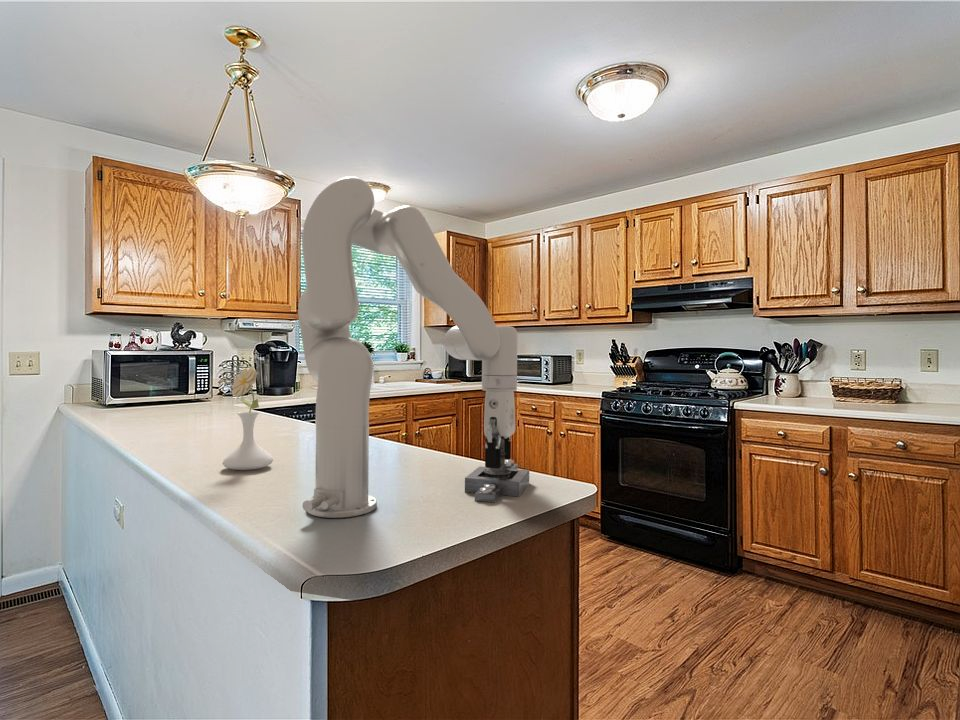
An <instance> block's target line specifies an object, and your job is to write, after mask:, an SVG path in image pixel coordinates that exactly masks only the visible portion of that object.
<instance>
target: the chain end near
mask: <svg viewBox="0 0 960 720" xmlns="http://www.w3.org/2000/svg"><path fill="white" fill-rule="evenodd" d="M485 477H486V476H485ZM509 479H512V477H509ZM529 484H530V477H529V478H528V479H527V480H526V482H525V483H524V484H523V485H522V487H521V488H520V489H508V488H495V486H496V485H494V484H485V485H484V487H483V486H471V485H465V484H464V493H468V492H473V493H472V494H474V501H475V502H482V501H487V502H486V503H493V502H495V501H496V502H497V501H498V500H499V498H501V497H502V496H503V495H508V496H507V497H515V496H519V497H520V496H521V495H522V494H523V493H524V491H525V490H526V489H527V487H528V486H529ZM527 485H528V486H527ZM526 486H527V487H526ZM524 489H525V490H524ZM521 493H522V494H521ZM496 502H495V503H496Z"/></svg>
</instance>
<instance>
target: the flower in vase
mask: <svg viewBox="0 0 960 720" xmlns="http://www.w3.org/2000/svg"><path fill="white" fill-rule="evenodd" d="M257 375H258V372H257V370H256V369H255V367H252V366H250V367H249V368H247V367H244V369H243V370H241V372H240V373H238V374H236V378H235V379H234V381H233V384H232V385H231V388H232V390H231V395H233V396H234V397H235V398H237V397H238V398H239V397H241V398H240V399H241V400H240V401H241V403H243V404H244V405H246V406H247V407H249V410H244V411H238V412H237V415H238V416H239V418H240V420H241V422H242V430H243V431H242V433H243V434H242V435H243V436H242V441H241V444H240V445H238V447H236V448H235V449H234V450H232V452H230V453H229V454H228V455H227V456H226V457H225V458H224V459H223V462H222V465H223V467H224V468H225V469H226V468H227V469H229V470H233V471H234V470H235V471H250V470H251V471H252V470H257V469H263V468H265V467H267V466H270V465H272V463H273V461H274V459H273V458H274V457H273V456H272V455H271V454H270V453H269V452H268V451H266V450H265V449H264V448H262V447H260V445H258V444H257V443H256V441H255V440H254V439H255V438H254V428H255V422H256V419H257V417H258V415H259V414H260V411H257V410H253V409H257V408H259V407H260V405H259V399H258V398H255V395H254V392H253V389H252V387H253V384H256V380H257ZM249 391H250V393H251V396H252V402H250V401H248V400H246V399H245V398H244V397H243V396H245V394H246V393H248V392H249Z"/></svg>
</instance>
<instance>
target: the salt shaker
mask: <svg viewBox="0 0 960 720" xmlns="http://www.w3.org/2000/svg"><path fill="white" fill-rule="evenodd" d="M496 442H497V439H496ZM499 449H501V467H500V468H499V469H498V468H488V469H486V470H484V473H485V476H486V477H491V478H505V479H509V477H510V473H511V471H510V470H508V469H506V467H505V460H506V459H505V455H506V453H505V452H504V439H503V438H502V437H501V441H500V447H499Z"/></svg>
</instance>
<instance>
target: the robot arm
mask: <svg viewBox="0 0 960 720" xmlns="http://www.w3.org/2000/svg"><path fill="white" fill-rule="evenodd" d="M303 223H304V224H303V227H302V228H303V229H302V239H301V240H302V241H301V244H302V247H301V248H302V257H303V264H304V265H303V268H304V274H305V275H304V276H305V283H306V288H305V290H304V291H303V292H302V294H301V295H300V298H299V300H298V305H297V307H298V309H297V312H298V322H299V329H300V335H301V341H302V348H303V349H302V350H303V353H304V360H305V363H306V364H305V365H306V368H307V370H308V372H309V374H310V376H311V377H312V378H313V379H314V380H315V381H317V390H316V400H315V423H314V424H315V488H314V489H313V496H312V497H310V498H308V499H306V500H304V501H303V502H302V508H303V511H305V512H307V513H308V514H309V515H311V516H315V517H320V518H326V519H327V518H329V519H344V518H350V517H351V518H352V517H357V516H361V515H364V514H369V513H371V512H372V511H374V510H375V509H376V508H377V506H378V503H377V501H378V500H377V499H376V498H375V497H374V496H373V495H369V483H370V482H369V479H370V478H369V477H370V475H369V470H370V469H369V468H370V467H369V465H370V464H369V463H370V462H369V459H370V456H369V454H370V453H369V452H370V447H369V446H370V423H369V422H370V398H371V397H370V396H371V389H372V379H373V372H374V369H373V367H374V366H373V364H374V363H373V360H372V356H371V353H370V351H369V350H368V348H367V347H366V345H365V344H363V343H362V342H361V341H359V340H358V339H356V338H353V337H351V332H350V331H351V330H350V325H352V324H353V323H354V322H355V321H356V319H357V318H358V315H359V312H360V311H359V310H360V302H359V297H358V291H357V285H356V284H357V283H356V277H355V271H354V264H353V263H354V262H353V253H352V252H353V251H352V245H354V246H355V245H356V246H357V247H360V248H363V249H366V250H368V251H370V252H374V253H378V254H379V255H380V254H381V255H384V256H388V257H389V256H390V257H396V258H397V260H398V261H399V263H400V265H401V267H402V268H403V270H404V271H405V274H406V275H407V277H408V279H409V281H410V282H411V284H412V286H413V288H414V290H415V291H416V292H417V293H418V294H419V295H420V296H422V297H423V298H424V299H426V300H427V301H430V302H431V303H432V304H435V305H436V306H438V307H439V308H440V309H442V310H443V311H444V312H445V313H446V314H447V315H448V316H449V317H450V318H451V320H452V321H453V323H454V324H455V326H452V327H451V328H449V329H448V330H447V332H446V333H445V335H444V338H443V347H444V350H445V351H446V353H447V354H448V355H449V356H451V357H453V358H454V359H457V360H461V361H481V391H485V398H484V399H485V400H484V412H483V413H484V415H483V417H484V418H483V419H484V421H483V429H484V430H483V431H484V436H485V439H484V440H485V445H484V451H485V452H484V453H485V454H484V455H485V456H484V467H486V468H498V469H499V468H500V467H501V449H499V447H500V441H501V437H502V438H503V439H504V452H505V453H506V455H505V460H511V457H512V454H511V453H512V449H511V448H512V440H511V439H512V436H513V435H514V434H515V432H516V407H515V405H516V404H515V393H514V392H516V391H517V390H518V388H517V387H518V386H517V385H518V331H517V329H516V328H515V327H513V326H511V325H497V324H496V322H495V321H494V319H493V317H492V315H491V313H490V311H489V309H488V308H487V306H486V304H485V302H484V301H483V300H482V298H481V297H480V296H479V295H478V294H477V293H476V291H474V289H472V288H471V286H469V285H468V284H467V282H465V280H464V279H462V278H461V277H460V276H459V275H458V274H457V273H456V272H455V270H454V269H453V268H452V267H453V266H452V265H451V263H450V261H449V260H448V258H447V257H446V255H445V253H444V251H443V249H442V247H441V245H440V244H439V241H438V239H437V237H436V236H435V233H434V232H433V231H432V230H433V229H431V226H430V225H429V223H428V221H427V219H426V218H425V216H424V215H423V213H422V212H421V211H420V210H419V209H418V208H416V207H414V206H412V205H402V206H398V207H395V208H394V209H391V210H390V211H388V212H383V211H380V210H377V209H375V197H374V192H373V190H372V188H371V186H370V185H369V184H368V182H366V181H365V180H364V179H362V178H359V177H357V176H345V177H342V178H339V179H337V180H336V181H333V182H331V183H330V184H329V185H328V186H326V187H325V188H324V189H323V190H321V191H320V193H319V194H318V195H317V196H316V198H315V199H314V201H313V202H312V204H311V206H310V208H309V209H308V212H307V214H306V217H305V220H304V222H303ZM496 439H497V442H496Z"/></svg>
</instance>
